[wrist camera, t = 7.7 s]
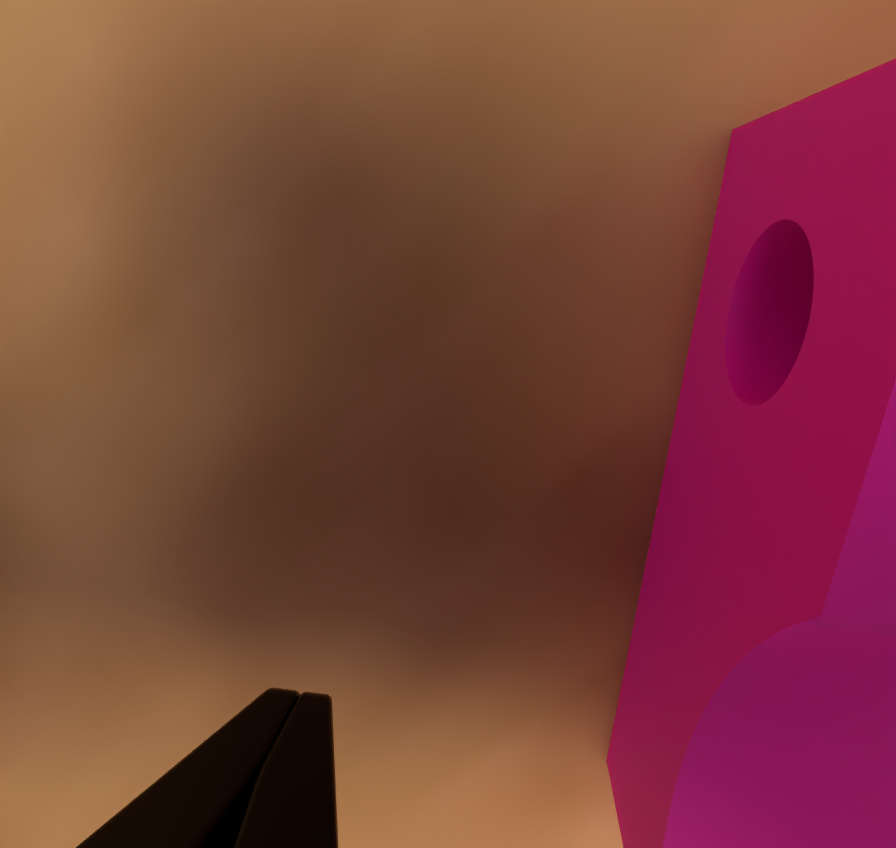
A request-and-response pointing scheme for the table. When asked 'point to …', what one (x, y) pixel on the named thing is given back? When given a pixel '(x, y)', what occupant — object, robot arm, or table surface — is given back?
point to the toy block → (778, 508)
